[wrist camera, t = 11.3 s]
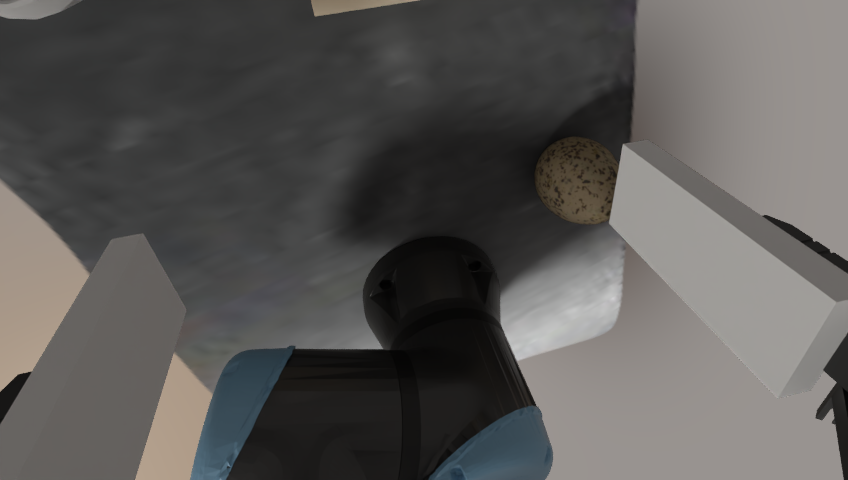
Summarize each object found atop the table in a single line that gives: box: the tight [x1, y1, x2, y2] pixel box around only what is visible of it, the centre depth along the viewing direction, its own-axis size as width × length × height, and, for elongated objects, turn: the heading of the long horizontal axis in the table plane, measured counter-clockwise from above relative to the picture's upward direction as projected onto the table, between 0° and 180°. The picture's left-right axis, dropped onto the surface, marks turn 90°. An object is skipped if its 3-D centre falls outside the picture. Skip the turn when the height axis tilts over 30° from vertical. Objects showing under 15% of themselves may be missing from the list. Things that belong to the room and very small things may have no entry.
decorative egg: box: [534, 137, 619, 225], centre depth 41 cm, size 7×7×10 cm
